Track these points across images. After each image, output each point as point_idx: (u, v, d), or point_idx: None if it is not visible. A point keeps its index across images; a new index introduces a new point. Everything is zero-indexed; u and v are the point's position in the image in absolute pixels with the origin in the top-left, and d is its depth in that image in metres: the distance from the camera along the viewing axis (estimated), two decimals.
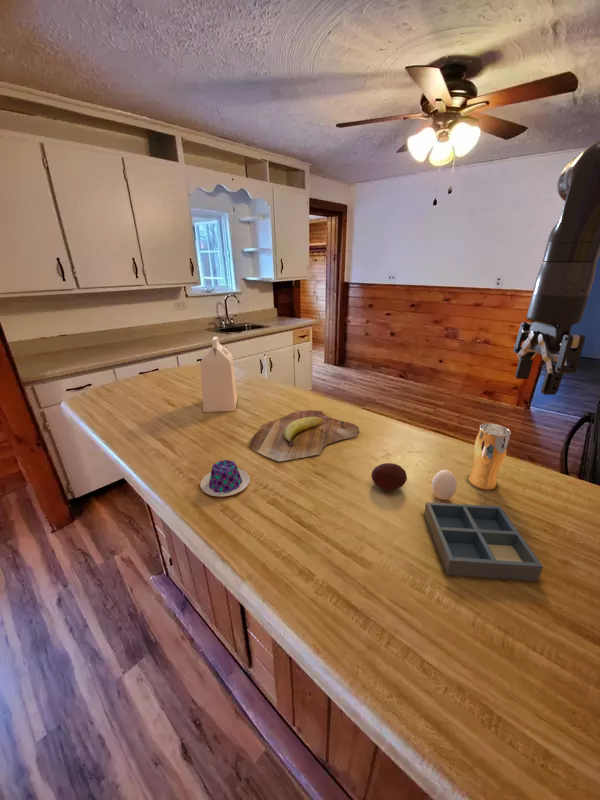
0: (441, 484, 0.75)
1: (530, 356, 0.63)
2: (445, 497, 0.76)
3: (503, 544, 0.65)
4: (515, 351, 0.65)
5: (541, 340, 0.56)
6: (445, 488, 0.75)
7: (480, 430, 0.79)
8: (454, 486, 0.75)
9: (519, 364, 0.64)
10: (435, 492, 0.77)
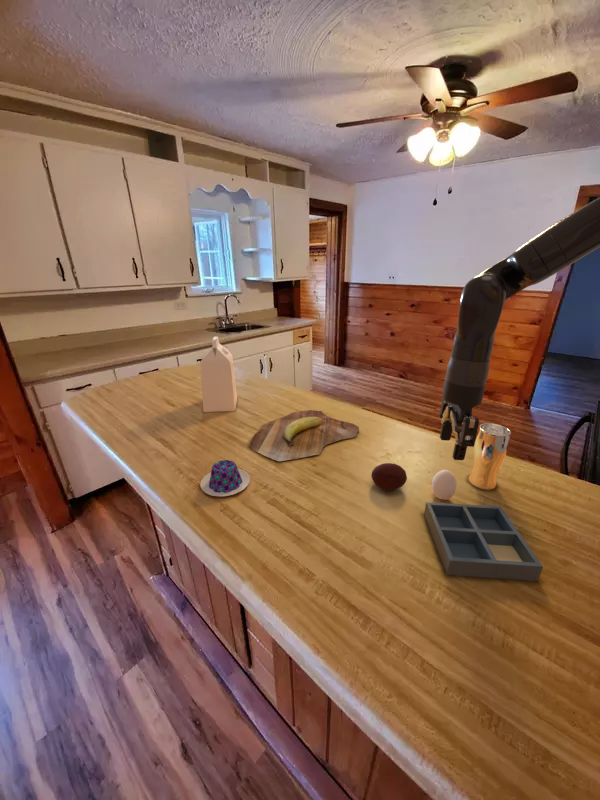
0: (441, 484, 0.75)
1: (450, 422, 0.76)
2: (445, 497, 0.76)
3: (503, 544, 0.65)
4: (440, 417, 0.78)
5: (451, 416, 0.69)
6: (445, 488, 0.75)
7: (480, 430, 0.79)
8: (454, 486, 0.75)
9: (442, 428, 0.77)
10: (435, 492, 0.77)
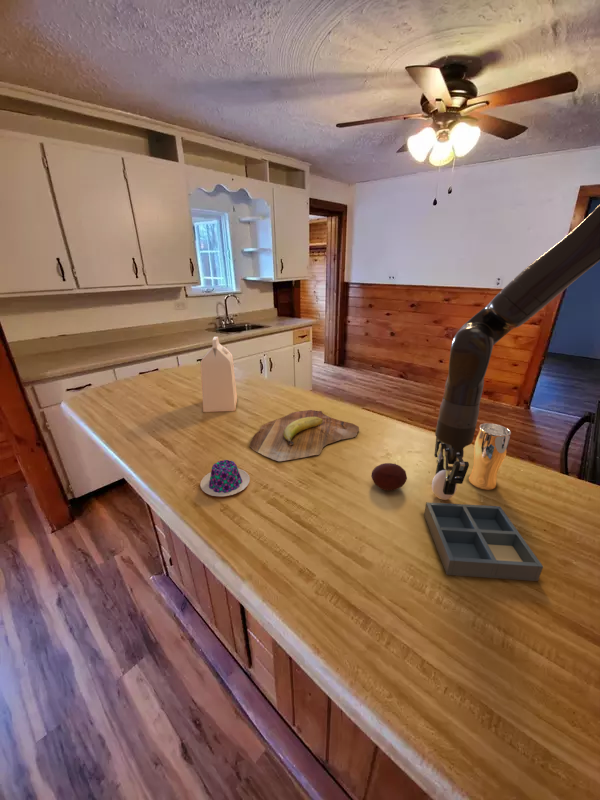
0: (441, 484, 0.75)
1: None
2: (445, 497, 0.76)
3: (503, 544, 0.65)
4: (435, 456, 0.80)
5: (444, 454, 0.72)
6: None
7: (480, 430, 0.79)
8: None
9: (437, 468, 0.79)
10: (435, 492, 0.77)
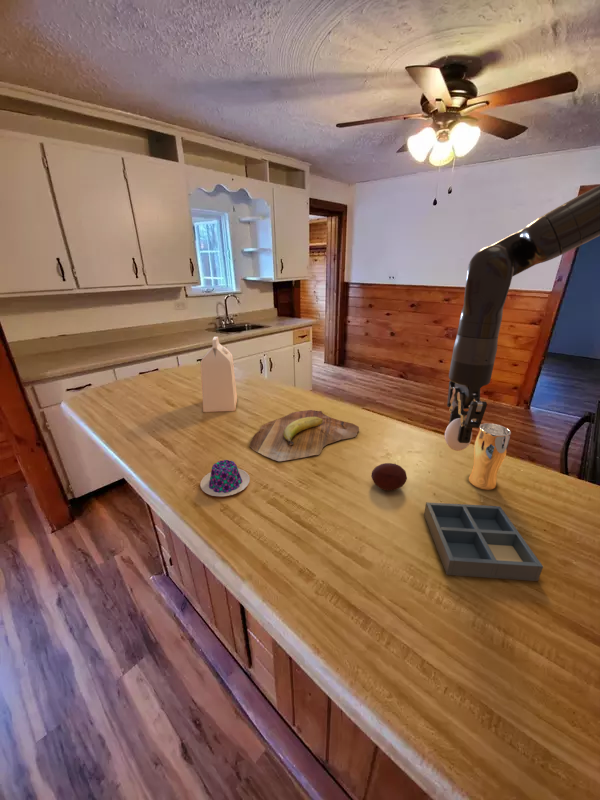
0: (455, 433, 0.69)
1: None
2: (460, 447, 0.70)
3: (503, 544, 0.65)
4: (448, 405, 0.75)
5: (459, 397, 0.67)
6: None
7: (480, 430, 0.79)
8: None
9: (450, 418, 0.73)
10: (449, 442, 0.71)
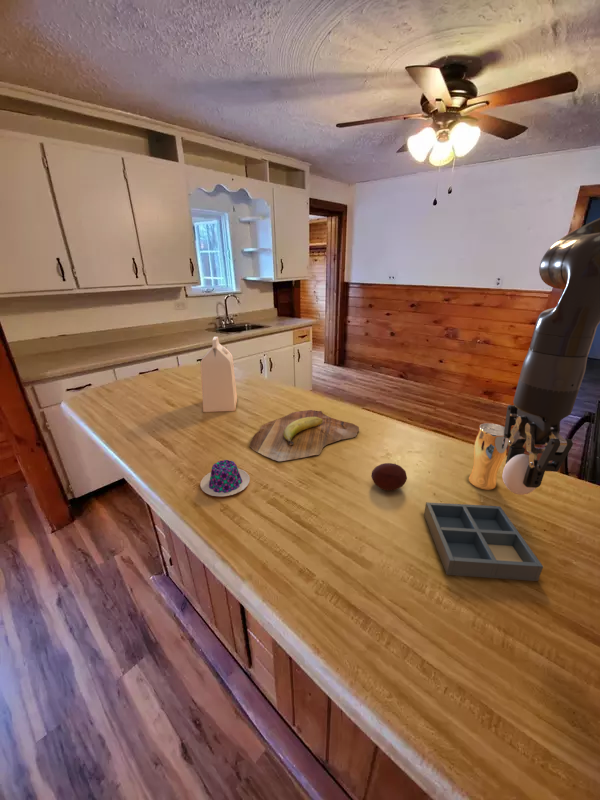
0: (520, 474, 0.55)
1: (522, 444, 0.58)
2: (525, 491, 0.55)
3: (503, 544, 0.65)
4: (506, 436, 0.60)
5: (528, 430, 0.52)
6: None
7: (480, 430, 0.79)
8: None
9: (510, 452, 0.58)
10: (510, 484, 0.56)
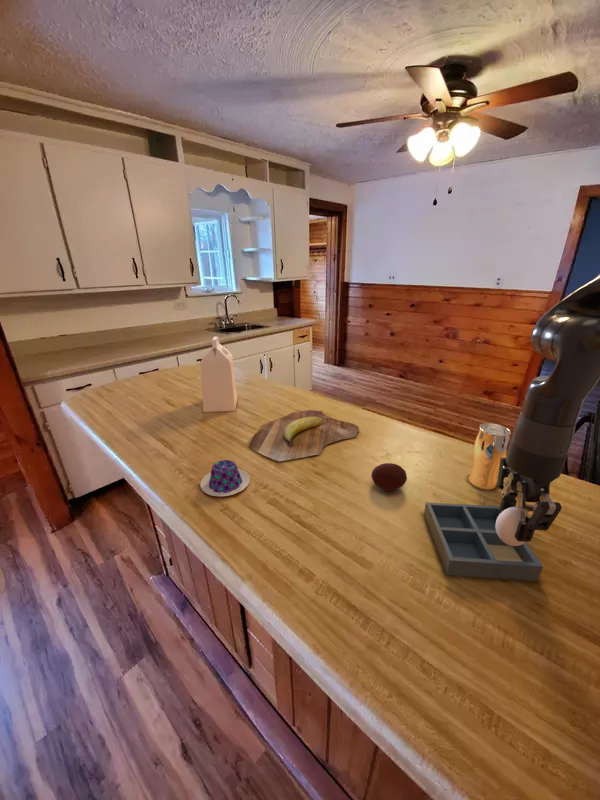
0: (512, 528, 0.57)
1: (514, 497, 0.60)
2: (516, 544, 0.58)
3: (503, 544, 0.65)
4: (499, 487, 0.62)
5: (520, 489, 0.54)
6: None
7: (480, 430, 0.79)
8: None
9: (502, 503, 0.61)
10: (502, 536, 0.58)
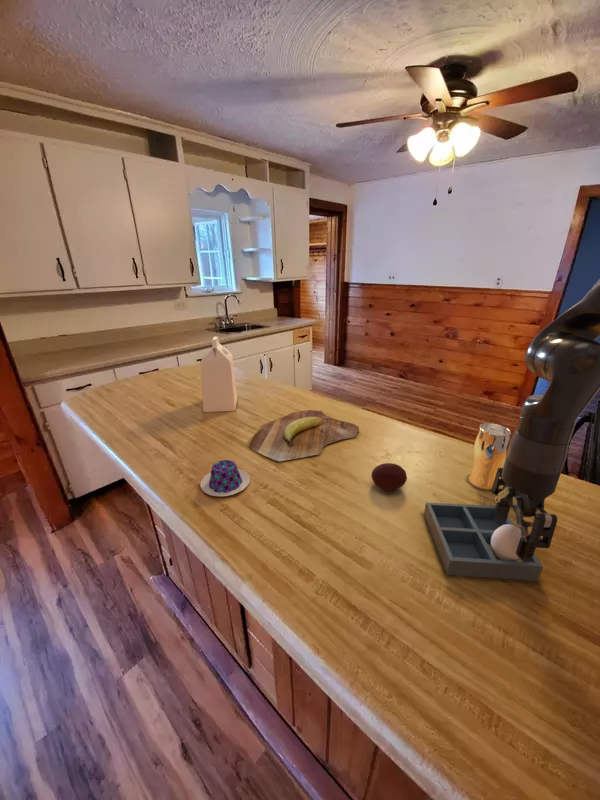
0: (507, 545, 0.58)
1: (507, 502, 0.62)
2: (511, 560, 0.59)
3: None
4: (493, 493, 0.64)
5: (515, 504, 0.55)
6: (512, 550, 0.58)
7: (480, 430, 0.79)
8: None
9: (496, 509, 0.63)
10: (497, 553, 0.60)
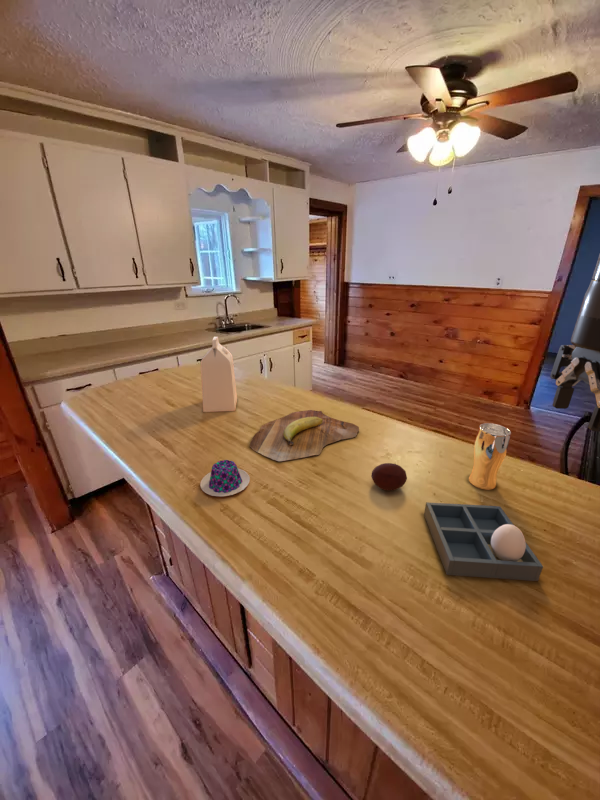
0: (507, 545, 0.58)
1: (571, 383, 0.56)
2: (511, 560, 0.59)
3: None
4: (553, 377, 0.58)
5: (589, 369, 0.49)
6: (512, 550, 0.58)
7: (480, 430, 0.79)
8: (524, 547, 0.58)
9: (558, 392, 0.56)
10: (497, 553, 0.60)
